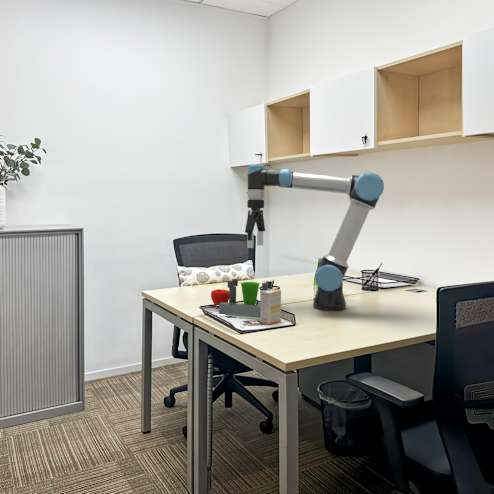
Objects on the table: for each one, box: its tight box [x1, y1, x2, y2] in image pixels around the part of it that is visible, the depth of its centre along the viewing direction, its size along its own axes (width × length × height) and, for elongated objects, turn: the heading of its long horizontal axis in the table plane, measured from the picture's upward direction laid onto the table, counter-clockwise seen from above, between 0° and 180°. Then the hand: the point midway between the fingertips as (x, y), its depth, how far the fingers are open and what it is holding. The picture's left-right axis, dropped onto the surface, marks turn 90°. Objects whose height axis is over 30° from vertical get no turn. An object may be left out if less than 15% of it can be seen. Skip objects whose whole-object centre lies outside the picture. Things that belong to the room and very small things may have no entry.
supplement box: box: [259, 288, 282, 326], centre depth 204 cm, size 8×5×13 cm, turn 141°
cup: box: [240, 281, 261, 305], centre depth 235 cm, size 9×9×11 cm
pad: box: [227, 315, 260, 321], centre depth 215 cm, size 22×7×1 cm, turn 70°
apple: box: [210, 288, 229, 306], centre depth 235 cm, size 9×9×8 cm
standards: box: [227, 278, 273, 303], centre depth 222 cm, size 21×6×14 cm, turn 70°
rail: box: [218, 302, 261, 318], centre depth 214 cm, size 20×4×4 cm, turn 70°
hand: (255, 246), depth 227 cm, fingers open, 13 cm apart
